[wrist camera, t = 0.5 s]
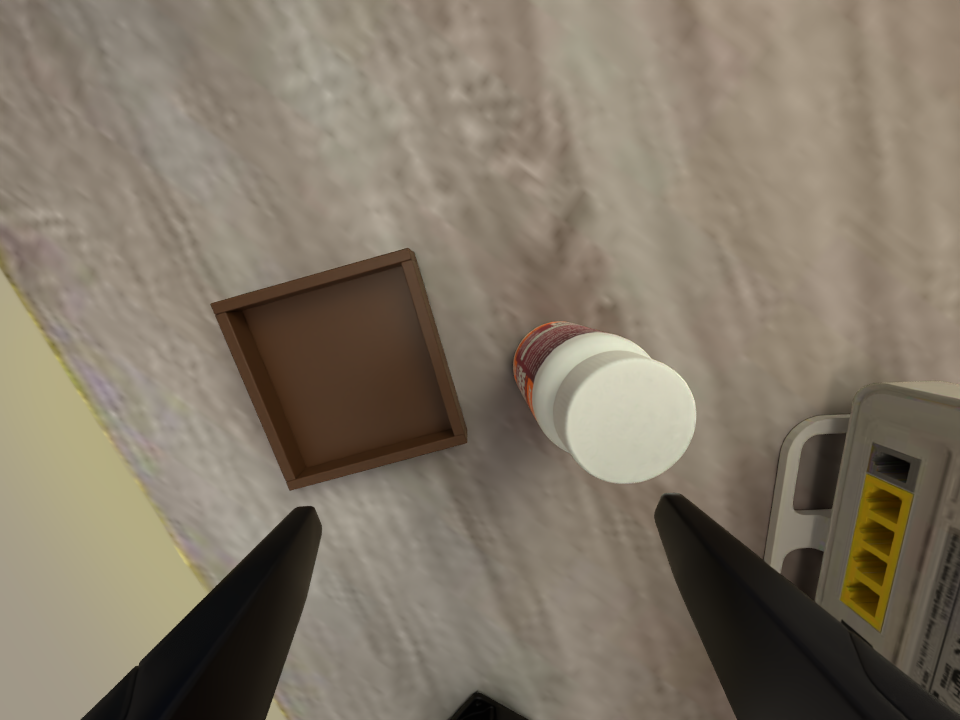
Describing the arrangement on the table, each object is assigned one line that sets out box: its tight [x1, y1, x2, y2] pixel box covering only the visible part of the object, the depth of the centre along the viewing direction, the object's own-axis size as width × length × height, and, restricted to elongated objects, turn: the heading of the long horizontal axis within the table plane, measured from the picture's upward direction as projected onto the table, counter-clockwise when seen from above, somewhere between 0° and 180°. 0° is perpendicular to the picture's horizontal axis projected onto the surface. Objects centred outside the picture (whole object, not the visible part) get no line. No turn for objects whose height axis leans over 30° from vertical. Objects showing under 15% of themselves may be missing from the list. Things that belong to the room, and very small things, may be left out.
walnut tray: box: [211, 248, 467, 491], centre depth 22 cm, size 13×12×2 cm
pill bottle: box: [513, 321, 696, 484], centre depth 18 cm, size 6×6×11 cm
